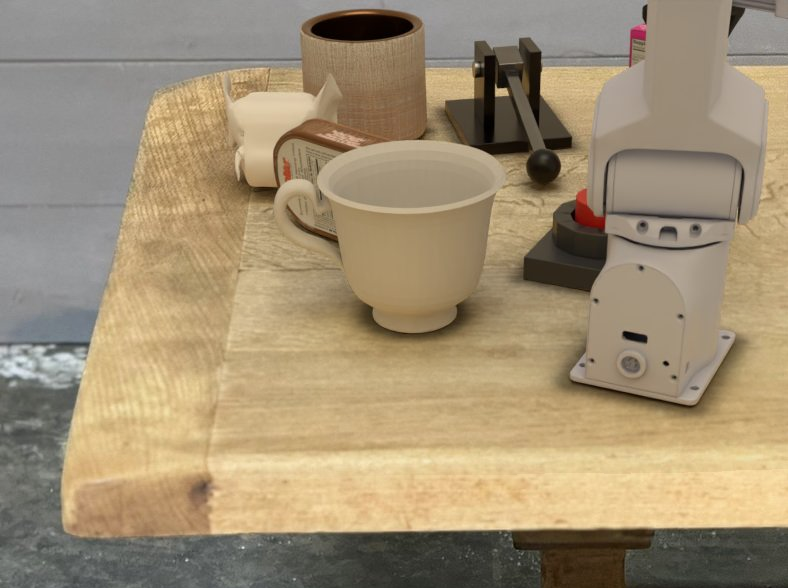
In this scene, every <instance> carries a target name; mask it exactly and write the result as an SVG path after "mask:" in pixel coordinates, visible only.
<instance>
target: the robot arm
mask: <svg viewBox="0 0 788 588" xmlns="http://www.w3.org/2000/svg"><path fill="white" fill-rule="evenodd" d="M746 9H747V10H754V11H759V12H765V13H772V14H774V17H776V18H780V19H785V20H788V0H647V3H646V4H644V5H643V6H642V11H641V18H642V20H643V22H644V23H645V24H646V44H645V59H644V60H642V61H641V62H639V63H637V64H635V65H634V66H632V67H630V68H629V67H628V68H626V69H625V70H622V71H620V72H619V73H617V74H615V75H614V76H612V77H610V78H609V79H607V80H606V81H605V82H604V83H602V87H601V92H599V93H598V94H597V95H596V100H595V103H594V104H595V106H594V111H593V117H592V125H591V133H590V141H589V149H588V159H587V160H588V162H587V175H586V188H587V205H588V207H589V208H590V209H591V210H592V211H593V213H594V215H595V216H596V217H604V216H605V212H606V222H605V233H606V234H608V244H607V259H606V263H605V266H604V267H603V269H602V270H601V272H600V274H599V275H598V277H597V278H596V280H595V282H594V284H593V286H592V289H591V291H590V293H589V298H588V299H589V300H588V316H587V333H586V347H585V348H586V349H585V352H584V353H583V355H582V356H581V357H580V359H579V360H578V361H577V362H576V364H575V365H574V366H573V368H571V370H570V371H569V379H570V380H571V381H572V382H577V383H580V384H586V385H590V386H593V387H600V388H604V389H609V390H614V391H618V392H623V393H628V394H632V395H637V396H641V397H642V396H643V397H646V398H651V399H656V400H661V401H665V402H669V403H675V404H680V405H685V406H694V405H697V404H698V402H699V401H700V399H701V398H702V396H703V394H704V392H705V391H706V389H707V388H708V386H709V385H710V382H711V381H712V379H713V378H714V376H715V375H716V373H717V371H718V369H719V367H720V366H721V364H722V363H723V361H724V359H725V358H726V356H727V354H728V352H729V351H730V350H731V347H732V346H733V345H734V343H735V341H736V333H735V332H734V331H732V330H727V329H722V328H721V319H722V312H723V304H724V296H725V289H726V281H727V280H726V279H727V271H728V264H729V257H730V247H731V242H733V241H734V237H735V229H736V222H737V226H747V225H749V223H750V221H752V220H753V219H754V218H755V217H757V216H758V213H759V208H760V201H761V196H762V188H763V182H764V174H765V173H764V172H765V165H766V157H767V145H768V122H769V109H770V108H769V106H770V103H769V101H768V100H767V99H766V89H764V87H763V86H762V85H760V84H759V83H758V82H756V81H755V80H753V79H752V77H749V76H748V75H746V74H745V73H743V72H742V71H741V70H739V69H738V68H736V67H735V66H734V65H732V64H730V62H728V61H727V60H725V57H726V48H727V40H728V41H729V38H730V36H731V34H732V33H733V30H734V29H735V27H736V26H737V25H738V23H739V22H740V20H741V18H742V17H743V16H744V14H745V11H746ZM728 37H729V38H728Z"/></svg>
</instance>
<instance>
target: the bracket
mask: <svg viewBox="0 0 788 588" xmlns="http://www.w3.org/2000/svg"><path fill="white" fill-rule="evenodd" d="M473 44H474V46H473V47H474V53H473V55H474V56H473V61H472V64H471V73H472V77H473V97H471V98H459V99H448V100H445V101H444V111H445V114H446V115H447V117H448V119H449V121H450V122H451V124H452V127H453V128H454V130H455V132H456V134H457V135H458V137H459V139H460V141H461V143H462V145H466V146H470V147H473V148H476V149H479V150H482V151H484V152H486V153H488V154H490V155H497V154H509V153H510V154H511V153H521V152H522V153H524V152H529V150H528V147H527V144H526V141H525V138H524V136H523V133H522V130H521V127H520V124H519V122H518V119H517V116H516V113H515V110H514V108H513V105H512V102H511V99H510V97H509V95H497V96H496V84H495V72H496V55H495V53H494V52H493V48H491V47H490V45H489V43H488V42H487V41H486V40H475V41H474V43H473ZM518 49H519V52H520V54H521V57H522V60H523V62H524V66H523V76H522V86H523V88H524V91H525V94H526V96H527V99H528V102H529V104H530V107H531V110H532V113H533V115H534V118H535V121H536V123H537V126H538V129H539V131H540V134H541V137H542V139H543V142H544V145H545V147H546V149H550V150H560V149H572V148H573V136H572V134H571V133H570V132H569V131H568V129H567V128H566V127H565V126H564V124H563V123H562V121H561V120H560V118H559V117H558V116H557V115H556V113H555V112H554V111H553V109H552V108H551V106H550V105H549V104H548V103H547V101H546V100H545V99H544V97H543V95H541V84H542V78H541V77H542V72H543V59H542V53H543V52H542V50H541V49H540V48H539V46H538V45H537V44H536V43H535V41H533V38H531V37H530V36H528V37H527V36H526V37H519V38H518Z"/></svg>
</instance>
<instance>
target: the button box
mask: <svg viewBox="0 0 788 588" xmlns="http://www.w3.org/2000/svg"><path fill="white" fill-rule="evenodd" d="M575 206H576V199H573V200H570V201H566V202H563V203H561V204H560V205H559V206H558V207H557V208H556V209H555V210H554V211H553V213H552V227H551V228H550V229H549V230H548V231H547V233H545V235H543V236H542V238H540V240H539V241H538V242H537V243H536V244H535V245H534V246H533V247H532V248H531V249H530V250H529V251H528V252H527V253H526V254H525V255H524V256H523V270H522V271H523V275H522V277H523V278H522V279H524V280H528V281H533V282H539V283H545V284H549V285H555V286H561V287H566V288H572V289H577V290H582V291H588V292H591V289H592V286H593V284H594V282H595V280H596V278H597V277H598V275H599V274H600V272H601V270H602V269H603V267H604V266H605V263H606V259H607V244H608V234H606V233H605V229H600V228H594V227H588V226H583V225H581V224H579V223H577V222H576V221H575Z"/></svg>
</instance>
